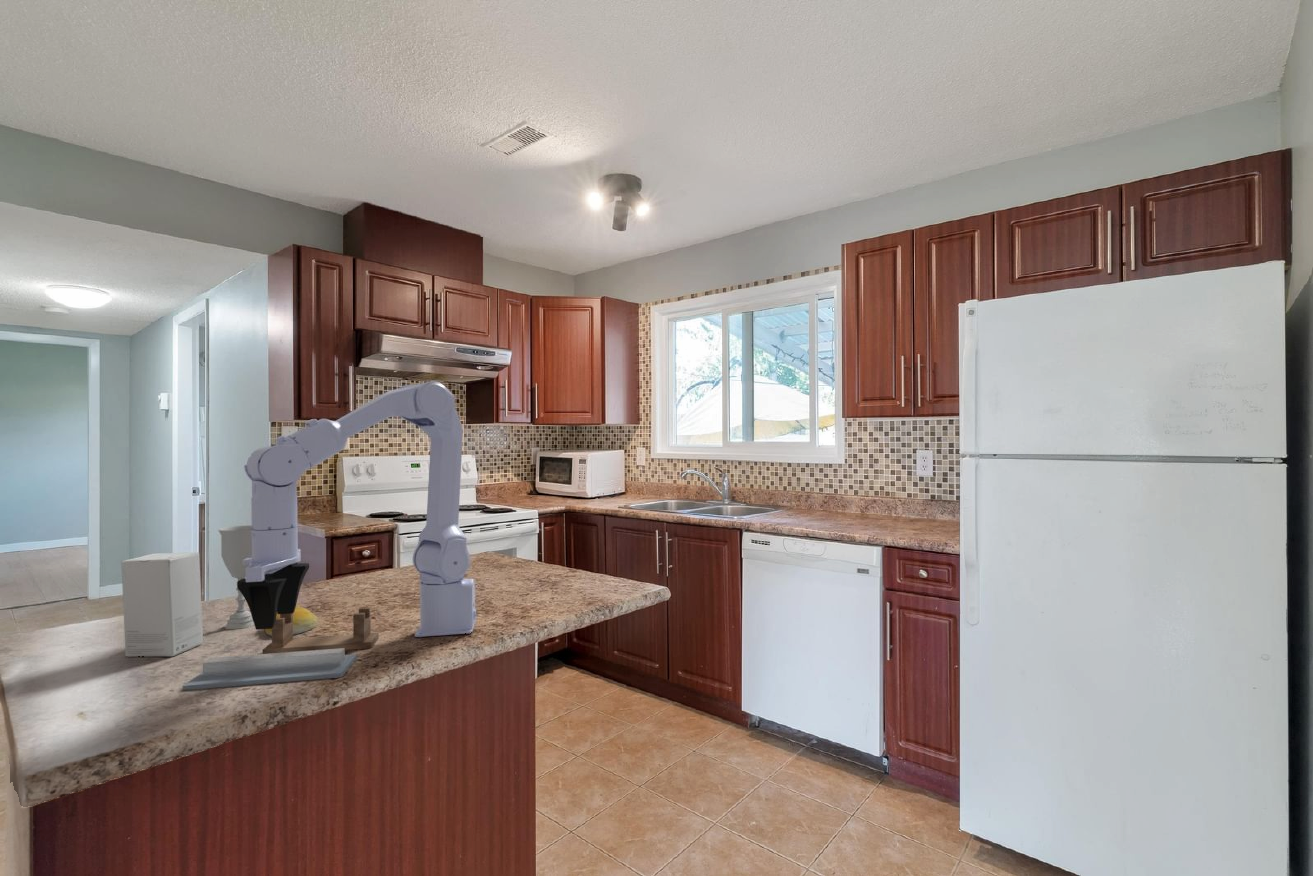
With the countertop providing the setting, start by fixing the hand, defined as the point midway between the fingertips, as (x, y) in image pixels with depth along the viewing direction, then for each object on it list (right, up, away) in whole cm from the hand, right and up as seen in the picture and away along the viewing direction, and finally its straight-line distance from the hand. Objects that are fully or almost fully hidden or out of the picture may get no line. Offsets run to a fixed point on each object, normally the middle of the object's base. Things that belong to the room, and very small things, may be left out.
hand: (275, 620), depth 89 cm
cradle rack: (+1, -8, +11) cm, 14 cm away
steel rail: (0, -7, 0) cm, 7 cm away
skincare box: (-25, -8, +10) cm, 28 cm away
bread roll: (-11, -8, +21) cm, 25 cm away
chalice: (-21, -8, +24) cm, 33 cm away
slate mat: (0, -8, 0) cm, 8 cm away
